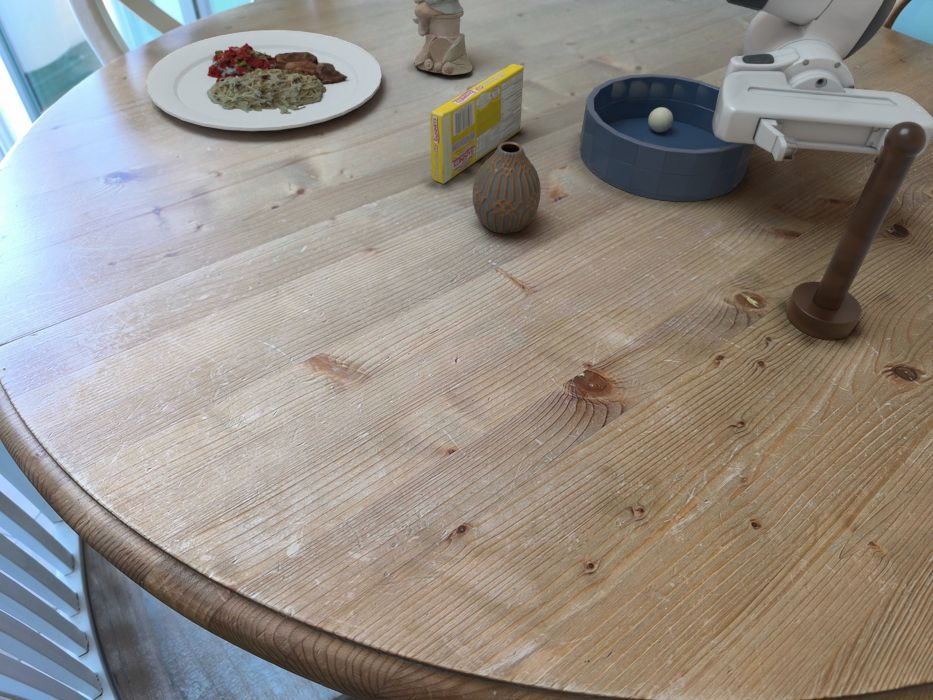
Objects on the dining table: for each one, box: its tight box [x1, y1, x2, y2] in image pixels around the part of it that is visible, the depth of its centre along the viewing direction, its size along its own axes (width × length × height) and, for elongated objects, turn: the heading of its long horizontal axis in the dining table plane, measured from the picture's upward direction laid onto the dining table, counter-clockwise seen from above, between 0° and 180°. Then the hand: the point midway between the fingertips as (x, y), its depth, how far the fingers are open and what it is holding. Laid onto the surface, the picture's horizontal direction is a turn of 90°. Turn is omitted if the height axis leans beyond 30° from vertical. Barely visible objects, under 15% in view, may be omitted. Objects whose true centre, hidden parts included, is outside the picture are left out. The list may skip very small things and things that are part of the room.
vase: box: [472, 141, 542, 235], centre depth 76 cm, size 7×7×9 cm
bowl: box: [579, 73, 755, 202], centre depth 88 cm, size 20×20×6 cm
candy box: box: [429, 63, 525, 185], centre depth 86 cm, size 16×2×8 cm, turn 145°
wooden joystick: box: [785, 121, 926, 341], centre depth 63 cm, size 6×6×19 cm
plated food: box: [145, 29, 383, 132], centre depth 98 cm, size 30×30×3 cm
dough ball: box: [648, 107, 673, 133], centre depth 93 cm, size 3×3×3 cm
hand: (839, 159), depth 68 cm, fingers open, 8 cm apart
